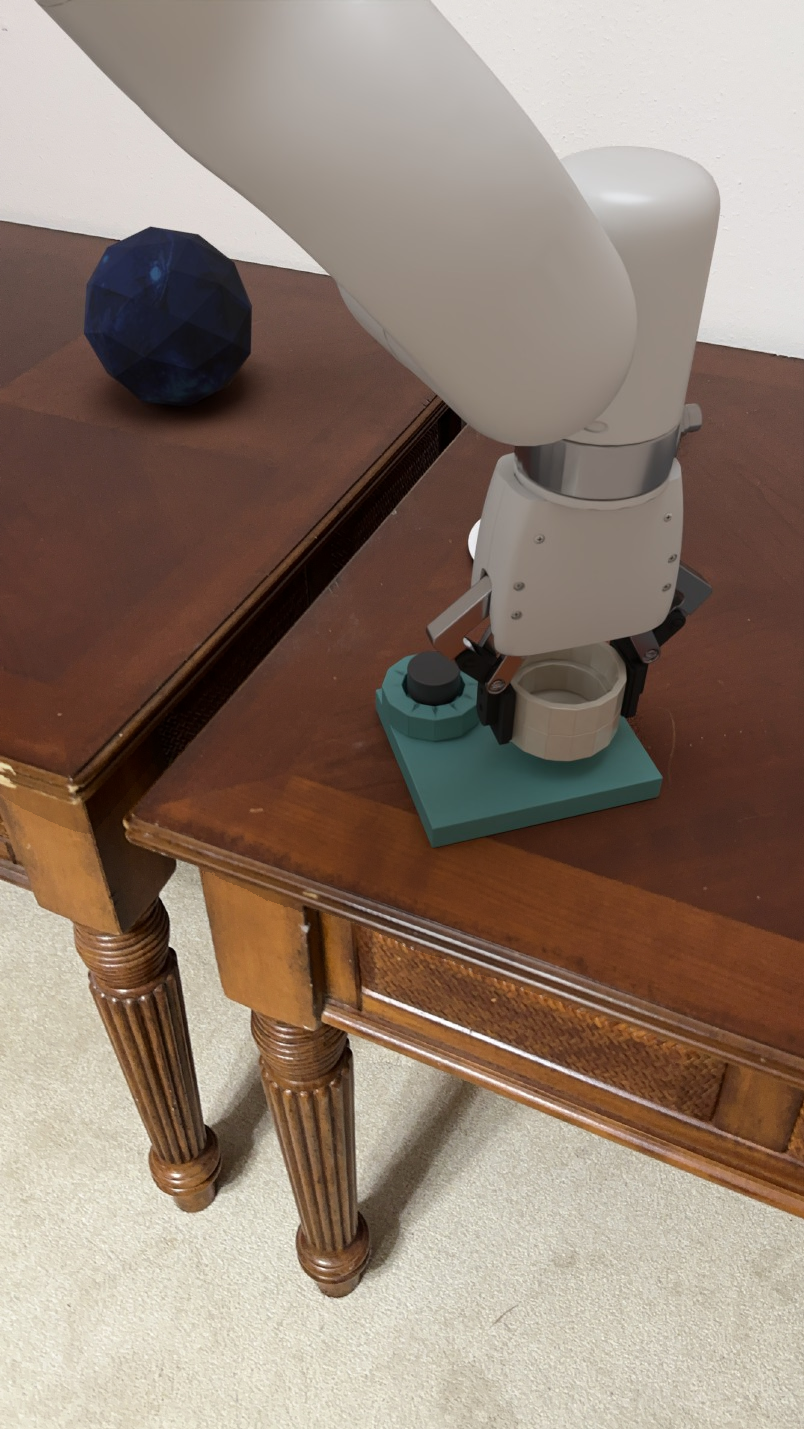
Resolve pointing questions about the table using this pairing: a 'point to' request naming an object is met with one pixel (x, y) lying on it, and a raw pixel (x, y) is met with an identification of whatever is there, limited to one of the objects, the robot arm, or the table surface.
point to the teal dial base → (498, 768)
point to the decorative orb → (168, 316)
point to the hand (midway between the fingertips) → (558, 713)
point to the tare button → (432, 679)
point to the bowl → (568, 701)
